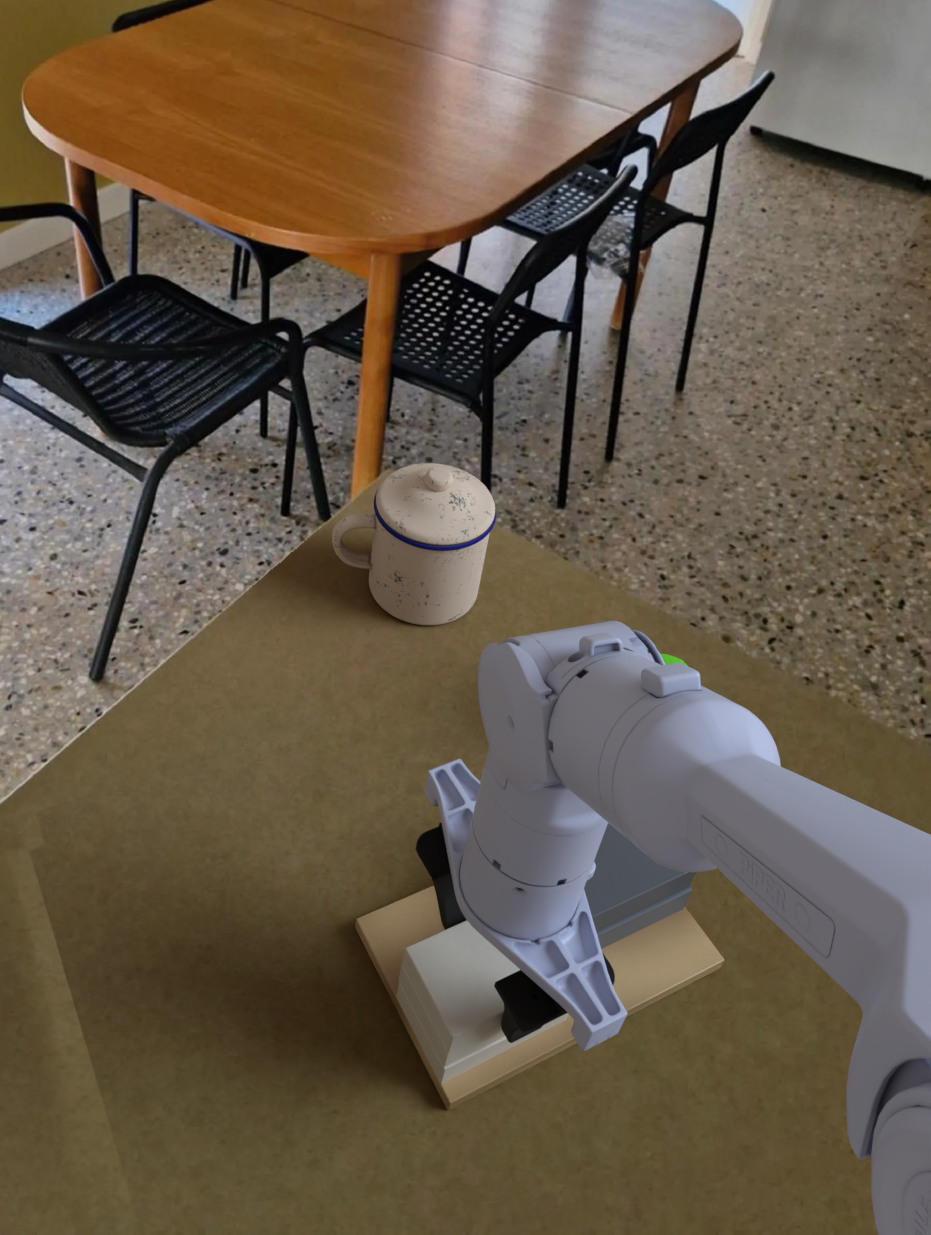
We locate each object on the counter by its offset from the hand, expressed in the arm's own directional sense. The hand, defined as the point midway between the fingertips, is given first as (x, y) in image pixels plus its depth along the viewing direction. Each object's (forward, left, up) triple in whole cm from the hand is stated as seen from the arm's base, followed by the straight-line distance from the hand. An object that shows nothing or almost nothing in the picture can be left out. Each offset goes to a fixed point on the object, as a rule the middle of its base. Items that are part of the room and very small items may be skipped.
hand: (490, 974), depth 59 cm
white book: (0, 0, 0) cm, 0 cm away
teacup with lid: (+31, -12, -5) cm, 34 cm away
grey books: (+3, -10, -4) cm, 11 cm away
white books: (0, 0, -4) cm, 4 cm away
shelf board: (+2, -5, -5) cm, 7 cm away
